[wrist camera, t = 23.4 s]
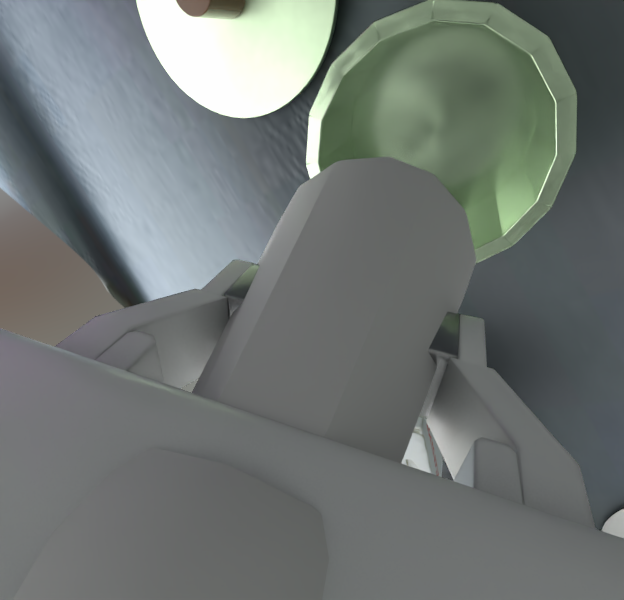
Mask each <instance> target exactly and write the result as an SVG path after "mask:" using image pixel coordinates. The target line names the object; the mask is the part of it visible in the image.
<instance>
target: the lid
mask: <svg viewBox="0 0 624 600" xmlns="http://www.w3.org/2000/svg"><path fill="white" fill-rule="evenodd" d="M136 3H137V7H138V11H139V15H140V18H141V22H142V24H143V27H144V30H145V32H146V35H147V38H148V40H149V42H150V44H151V46H152V48H153V50H154V52H155V54H156V56H157V58H158V59H159V61H160V63H161V64H162V66H163V67H164V69H165V70H166V71H167V73H168V74H169V76H170V77H171V78H172V79H173V80H174V82H175V83H176V84H177V85H178V86H179V87H180V88H181V89H182V90H183V91H184V92H185V93H186V94H187V95H188V96H190V97H191V98H192V99H194V100H195V101H196V102H198V103H199V104H201V105H202V106H204V107H206V108H208V109H210V110H212V111H214V112H217V113H219V114H222V115H226V116H230V117H236V118H253V117H259V116H263V115H267V114H270V113H272V112H274V111H277V110H279V109H281V108H283V107H284V106H286V105H288V104H289V103H291V102H292V101H293V100H294V99H296V98H297V97H298V96H299V95H300V94H301V93H302V92H303V91H304V90H305V89H306V88H307V86H308V85H309V84H310V83H311V81H312V80H313V78H314V77H315V75H316V74H317V72H318V71H319V69H320V67H321V65H322V63H323V61H324V59H325V57H326V54H327V52H328V49H329V46H330V44H331V41H332V37H333V33H334V29H335V25H336V19H337V12H338V5H339V0H136Z"/></svg>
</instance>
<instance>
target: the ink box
mask: <svg viewBox="0 0 624 600" xmlns="http://www.w3.org/2000/svg"><path fill="white" fill-rule="evenodd" d="M426 420H427V419H424V418H421V417H418V420H417V423H416V425H415V428H414V431H413V433H412V436H411V439H410V442H409V444H408V447H407V450H406V452H405V455H404V458H403V460H402V463H401V464H404V465H407V466H410V467H413V468H416V469H419V470H422V471H425V472H428V473H431V474H434V475H437V476H440V477H442V465H443V456H442V454H441V452H440V450H439V447H438V445H437V443H436V441H435V439H434V437H433V435H432V432H431V430H430V428H429V426H428V424H427V422H426Z"/></svg>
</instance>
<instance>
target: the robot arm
mask: <svg viewBox="0 0 624 600" xmlns="http://www.w3.org/2000/svg"><path fill="white" fill-rule="evenodd" d="M258 268H259V265H258V264H254V263H250V262H246V261H242V260H233V261H232V262H231V263H230V264H228V265H227V266H226V267H225V268H224V269H223V270H222V271H221V272H220V273H219V274H218V275H217V276H216V277H214V278H213V279H212V280H211V281H210V282H209V283H208V284H207V285H206V286H205V287H204V288H203V289H201V290H199V289H192V290H188V291H185V292H181V293H178V294H174V295H170V296H167V297H163V298H160V299H156V300H152V301H149V302H145V303H141V304H138V305H134V306H131V307H127V308H123V309H120V310H116V311H113V312H109V313H106V314H102V315H98V316H95V317H94V318H92V319H91V320H90V321H88V322H87V323H86V324H84V325H83V326H82V327H80V328H79V329H78V330H76V331H75V332H74V333H72V334H71V335H69V336H68V337H67V338H65V339H64V340H63V341H61V342H60V343H59V344H58V345H56V346H52V345H49V344H46V343H43V342H40V341H37V340H34V339H31V338H28V337H25V336H22V335H19V334H16V333H13V332H10V331H7V330H4V329H1V328H0V600H13V599H14V597H15V595H16V593H17V592H18V590H19V588H20V587H21V585H22V583H23V582H24V580H25V578H26V576H27V575H28V573H29V571H30V570H31V568H32V566H33V565H34V563H35V561H36V560H37V558H38V556H39V554H40V553H41V551H42V549H43V548H44V546H45V544H46V543H47V541H48V539H49V537H50V536H51V534H52V532H53V531H54V530H55V529H56V528H57V527H58V526H59V525H60V524H61V523H62V522H63V521H64V520H65V519H66V518H67V517H68V516H69V515H70V514H71V513H72V512H73V511H74V510H75V509H76V508H77V507H78V506H79V504H80V503H81V502H82V501H83V500H84V499H85V498H86V497H87V496H88V495H89V494H90V493H91V492H92V491H93V490H94V489H95V488H96V487H97V486H98V485H99V484H100V483H101V482H102V481H103V480H104V479H105V478H106V477H107V475H108V474H109V473H110V472H111V471H112V470H114V469H116V468H117V467H119V466H121V465H122V464H124V463H126V462H127V461H129V460H131V459H132V458H134V457H136V456H137V455H139V454H141V453H142V452H144V451H146V450H147V449H149V448H158V449H162V450H166V451H171V452H175V453H180V454H184V455H188V456H193V457H197V458H201V459H206V460H210V461H214V462H219V463H223V464H227V465H229V466H231V467H233V468H235V469H237V470H240V471H242V472H244V473H246V474H248V475H250V476H252V477H254V478H256V479H258V480H260V481H262V482H264V483H266V484H268V485H270V486H272V487H274V488H276V489H278V490H280V491H282V492H284V493H286V494H288V495H290V496H292V497H294V498H296V499H298V500H300V501H302V502H304V503H306V504H309V505H311V506H312V507H314V508H315V509H316V510H317V511H318V512H319V513H321V514H322V520H323V525H324V531H325V537H326V543H327V549H328V555H329V563H328V568H327V574H326V580H325V586H324V591H323V597H322V600H624V509H622V510H620V511H618V512H616V513H615V514H613V515H612V516H611V517H610V518H609V519H608V520H607V521H606V522H605V524H604V526H603V528H602V531H600V530H597V529H596V528H595V524H594V520H593V516H592V512H591V508H590V504H589V500H588V496H587V493H586V489H585V485H584V481H583V477H582V473H581V469H580V465H579V464H578V463H577V462H576V461H575V460H574V459H573V457H572V456H571V455H570V454H569V453H568V452H567V451H566V450H565V448H564V447H563V446H562V445H561V444H560V443H559V442H558V441H557V439H556V438H555V437H554V436H553V435H552V434H551V433H550V432H549V430H548V429H547V428H546V427H545V426H544V425H543V424H542V422H541V421H540V420H539V419H538V418H537V417H536V416H535V415H534V413H533V412H532V411H531V410H530V409H529V408H528V407H527V406H526V404H525V403H524V402H523V401H522V400H521V399H520V398H519V397H518V395H517V394H516V393H515V392H514V391H513V390H512V389H511V388H510V386H509V385H508V384H507V383H506V382H505V381H504V380H503V379H502V377H501V376H500V375H499V374H498V373H497V372H496V371H495V370H494V369H492V368H489V367H487V359H486V342H485V324H484V320H483V319H481V318H476V317H472V316H467V315H462V314H456V313H452V312H447V313H446V315H445V317H444V319H443V321H442V323H441V325H440V327H439V329H438V331H437V333H436V335H435V337H434V339H433V341H432V343H431V345H430V347H429V349H428V352H429V354H430V356H431V357H432V359H433V361H434V362H435V364H436V366H437V369H436V371H435V374H434V377H433V379H432V382H431V385H430V387H429V390H428V393H427V396H426V398H425V401H424V404H423V406H422V409H421V412H420V414H419V417H421V418H424V419H427V420H426V422H427V424H428V426H429V428H430V430H431V432H432V435H433V437H434V439H435V441H436V443H437V445H438V447H439V450H440V452H441V454H442V456H443V458H444V460H445V462H446V464H447V467H448V469H449V471H450V473H451V475H452V477H453V479H454V480H453V481H452V480H449V479H446V478H443V477H440V476H437V475H434V474H431V473H428V472H425V471H422V470H419V469H416V468H413V467H410V466H407V465H404V464H401V463H398V462H396V461H393V460H390V459H387V458H384V457H381V456H378V455H375V454H372V453H369V452H366V451H363V450H360V449H357V448H354V447H351V446H348V445H345V444H342V443H339V442H336V441H333V440H330V439H327V438H324V437H321V436H318V435H316V434H313V433H310V432H307V431H304V430H301V429H298V428H295V427H292V426H289V425H286V424H283V423H280V422H277V421H274V420H271V419H268V418H265V417H262V416H259V415H256V414H253V413H251V412H248V411H245V410H242V409H239V408H236V407H233V406H230V405H227V404H224V403H221V402H218V401H215V400H212V399H209V398H206V397H203V396H200V395H197V394H194V393H191V392H188V391H185V390H182V389H181V388H183V387H185V386H187V385H188V384H190V383H192V382H194V381H196V380H197V379H199V378H200V376H201V374H202V372H203V370H204V368H205V366H206V364H207V362H208V360H209V358H210V356H211V354H212V352H213V350H214V348H215V346H216V344H217V342H218V340H219V338H220V336H221V334H222V332H223V330H224V328H225V326H226V325H227V323H228V321H229V319H230V317H231V315H232V313H233V312H234V311H235V310H236V309H237V308H238V307H239V306H240V305H241V304H242V303H243V301H244V299H245V297H246V295H247V292H248V290H249V288H250V286H251V284H252V281H253V279H254V277H255V275H256V273H257V270H258Z"/></svg>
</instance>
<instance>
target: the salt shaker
mask: <svg viewBox="0 0 624 600" xmlns="http://www.w3.org/2000/svg"><path fill="white" fill-rule="evenodd" d="M475 263H476V256H475V251H474V247H473V242H472V237H471V232H470V228H469V223H468V218H467V215H466V212H465V210H464V209H463V207H462V206H461V205H460V204H459V203H458V202H457V200H456V199H455V198H454V197H453V196H452V195H451V193H450V192H449V191H448V190H447V189H446V188H445V187H444V185H443V184H442V183H441V182H440V181H439V180H438V178H437V177H436V176H435V175H434V174H432V173H430V172H427V171H425V170H422V169H420V168H417V167H414V166H412V165H409V164H407V163H404V162H402V161H399V160H396V159H394V158H391V157H377V158H364V159H351V160H341V161H338V162H335V163H333V164H332V165H330V166H329V167H327V168H326V169H324V170H323V171H322V172H320V173H319V174H317V175H316V176H314V177H313V178H311V179H310V180H308V181H307V182H305V183H304V184H302V185H301V186H299V187H298V189H297V191H296V193H295V194H294V196H293V198H292V200H291V201H290V203H289V205H288V207H287V208H286V210H285V212H284V214H283V215H282V217H281V219H280V221H279V222H278V224H277V226H276V228H275V230H274V232H273V234H272V236H271V238H270V240H269V242H268V244H267V246H266V248H265V250H264V252H263V254H262V256H261V258H260V260H259V262H258V265H259V268H258V270H257V273H256V275H255V277H254V279H253V281H252V284H251V286H250V288H249V290H248V292H247V295H246V297H245V299H244V301H243V303H242V304H241V305H240V306H239V307H238V308H237V309H236V310H235V311H234V312H233V313H232V315H231V317H230V319H229V321H228V323H227V325H226V326H225V328H224V330H223V332H222V334H221V336H220V338H219V340H218V342H217V344H216V346H215V348H214V350H213V352H212V354H211V356H210V358H209V360H208V362H207V364H206V366H205V368H204V370H203V372H202V374H201V376H200V378H199V380H198V381H197V383H196V386H195V387H194V389H193V391H192V393H194V394H197V395H200V396H203V397H206V398H209V399H212V400H215V401H218V402H221V403H224V404H227V405H230V406H233V407H236V408H239V409H242V410H245V411H248V412H251V413H253V414H256V415H259V416H262V417H265V418H268V419H271V420H274V421H277V422H280V423H283V424H286V425H289V426H292V427H295V428H298V429H301V430H304V431H307V432H310V433H313V434H316V435H318V436H321V437H324V438H327V439H330V440H333V441H336V442H339V443H342V444H345V445H348V446H351V447H354V448H357V449H360V450H363V451H366V452H369V453H372V454H375V455H378V456H381V457H384V458H387V459H390V460H393V461H396V462H398V463H402V460H403V458H404V455H405V452H406V450H407V447H408V444H409V442H410V439H411V436H412V433H413V431H414V428H415V425H416V423H417V420H418V417H419V414H420V412H421V409H422V406H423V404H424V401H425V398H426V396H427V393H428V390H429V387H430V385H431V382H432V379H433V377H434V374H435V371H436V369H437V366H436V364H435V362H434V361H433V359H432V357H431V356H430V354H429V352H428V349H429V347H430V345H431V343H432V341H433V339H434V337H435V335H436V333H437V331H438V329H439V327H440V325H441V323H442V321H443V319H444V317H445V315H446V313H447V312H452V313H456V314H457V313H458V310H459V308H460V306H461V303H462V301H463V298H464V295H465V292H466V289H467V286H468V284H469V281H470V278H471V275H472V272H473V269H474V266H475ZM328 563H329V555H328V549H327V543H326V537H325V531H324V525H323V520H322V514H321V513H319V512H318V511H317V510H316V509H315V508H314V507H312V506H311V505H309V504H306V503H304V502H302V501H300V500H298V499H296V498H294V497H292V496H290V495H288V494H286V493H284V492H282V491H280V490H278V489H276V488H274V487H272V486H270V485H268V484H266V483H264V482H262V481H260V480H258V479H256V478H254V477H252V476H250V475H248V474H246V473H244V472H242V471H240V470H237V469H235V468H233V467H231V466H229V465H227V464H223V463H219V462H214V461H210V460H206V459H201V458H197V457H193V456H188V455H184V454H180V453H175V452H171V451H166V450H162V449H158V448H149V449H147V450H146V451H144V452H142V453H141V454H139V455H137V456H136V457H134V458H132V459H131V460H129V461H127V462H126V463H124V464H122V465H121V466H119V467H117V468H116V469H114V470H112V471H111V472H110V473H109V474H108V475H107V477H106V478H105V479H104V480H103V481H102V482H101V483H100V484H99V485H98V486H97V487H96V488H95V489H94V490H93V491H92V492H91V493H90V494H89V495H88V496H87V497H86V498H85V499H84V500H83V501H82V502H81V503H80V504H79V506H78V507H77V508H76V509H75V510H74V511H73V512H72V513H71V514H70V515H69V516H68V517H67V518H66V519H65V520H64V521H63V522H62V523H61V524H60V525H59V526H58V527H57V528H56V529H55V530H54V531H53V532H52V534H51V536H50V537H49V539H48V541H47V543H46V544H45V546H44V548H43V549H42V551H41V553H40V554H39V556H38V558H37V560H36V561H35V563H34V565H33V566H32V568H31V570H30V571H29V573H28V575H27V576H26V578H25V580H24V582H23V583H22V585H21V587H20V588H19V590H18V592H17V593H16V595H15V597H14V599H13V600H322V597H323V591H324V586H325V580H326V574H327V568H328Z"/></svg>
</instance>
